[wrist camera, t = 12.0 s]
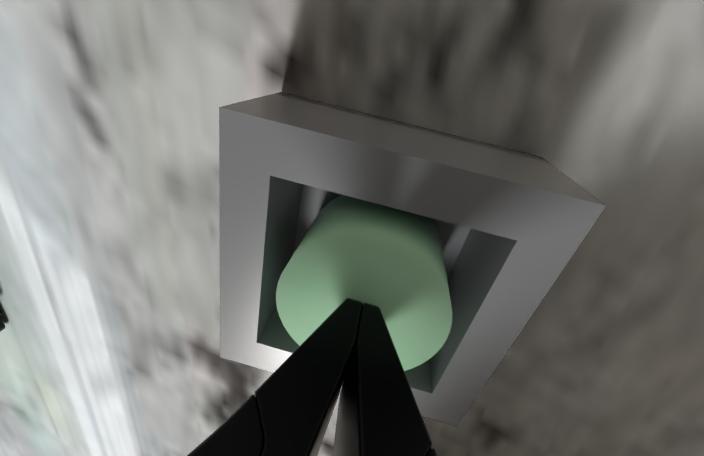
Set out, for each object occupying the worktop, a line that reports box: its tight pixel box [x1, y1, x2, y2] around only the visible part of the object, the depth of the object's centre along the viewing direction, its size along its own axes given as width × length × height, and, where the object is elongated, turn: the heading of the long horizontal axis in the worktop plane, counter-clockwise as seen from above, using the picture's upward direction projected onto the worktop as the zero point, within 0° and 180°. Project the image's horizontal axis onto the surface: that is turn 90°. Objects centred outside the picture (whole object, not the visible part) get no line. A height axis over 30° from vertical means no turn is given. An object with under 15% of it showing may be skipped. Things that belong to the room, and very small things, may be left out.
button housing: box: [219, 92, 606, 426], centre depth 10 cm, size 8×8×4 cm
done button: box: [276, 195, 452, 371], centre depth 9 cm, size 4×4×3 cm
